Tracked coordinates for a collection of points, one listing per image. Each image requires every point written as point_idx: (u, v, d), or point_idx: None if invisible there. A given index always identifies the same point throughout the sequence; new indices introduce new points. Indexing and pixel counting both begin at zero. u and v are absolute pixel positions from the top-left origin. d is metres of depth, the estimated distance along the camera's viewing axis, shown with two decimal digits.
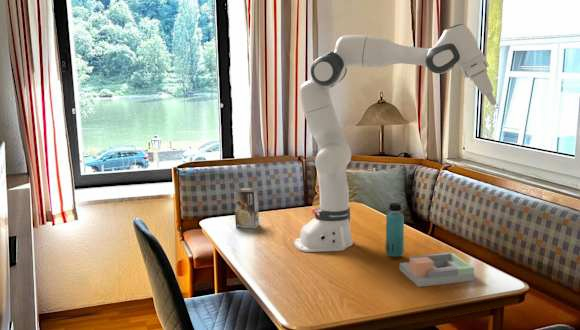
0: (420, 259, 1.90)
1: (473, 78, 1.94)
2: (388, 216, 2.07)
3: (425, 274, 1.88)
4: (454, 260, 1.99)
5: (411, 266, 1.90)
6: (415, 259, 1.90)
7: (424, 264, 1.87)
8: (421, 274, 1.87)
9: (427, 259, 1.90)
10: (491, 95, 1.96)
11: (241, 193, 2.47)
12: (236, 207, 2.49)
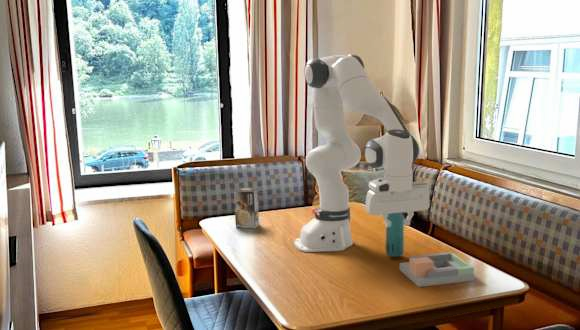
0: (420, 259, 1.90)
1: (368, 191, 1.83)
2: (388, 216, 2.07)
3: (425, 274, 1.88)
4: (454, 260, 1.99)
5: (411, 266, 1.90)
6: (415, 259, 1.90)
7: (424, 264, 1.87)
8: (421, 274, 1.87)
9: (427, 259, 1.90)
10: (383, 217, 1.83)
11: (241, 193, 2.47)
12: (236, 207, 2.49)
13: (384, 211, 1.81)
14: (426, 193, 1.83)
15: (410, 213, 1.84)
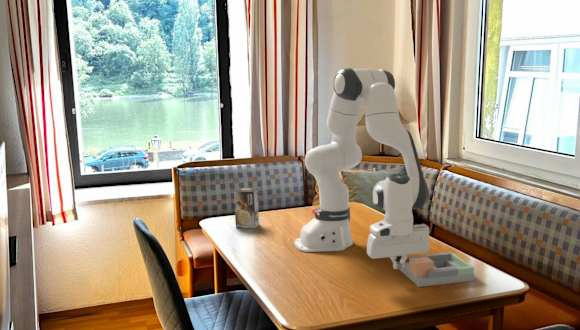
0: (420, 259, 1.90)
1: (369, 235, 1.85)
2: None
3: (425, 274, 1.88)
4: (454, 260, 1.99)
5: (411, 266, 1.90)
6: (415, 259, 1.90)
7: (424, 264, 1.87)
8: (421, 274, 1.87)
9: (427, 259, 1.90)
10: (392, 259, 1.86)
11: (241, 193, 2.47)
12: (236, 207, 2.49)
13: (385, 254, 1.84)
14: (426, 236, 1.86)
15: (404, 256, 1.86)
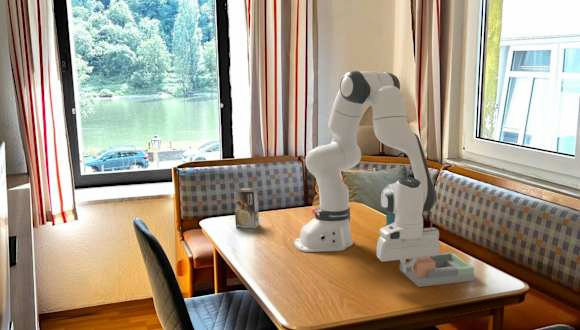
0: (421, 259, 1.90)
1: (379, 237, 1.87)
2: (388, 216, 2.07)
3: (426, 274, 1.88)
4: (454, 260, 1.99)
5: None
6: None
7: (426, 264, 1.87)
8: (422, 274, 1.87)
9: (428, 259, 1.90)
10: (401, 262, 1.87)
11: (241, 193, 2.47)
12: (236, 207, 2.49)
13: (395, 257, 1.85)
14: (436, 239, 1.87)
15: (413, 259, 1.87)
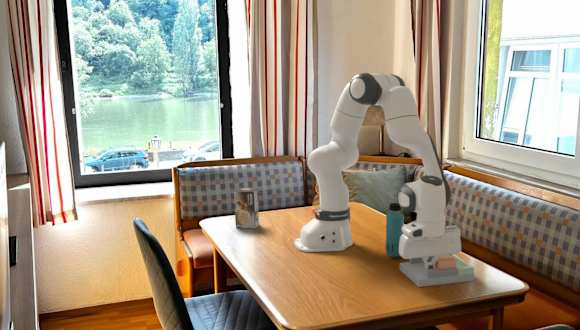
0: (442, 257, 1.91)
1: (401, 235, 1.88)
2: (388, 216, 2.07)
3: None
4: None
5: None
6: (438, 257, 1.91)
7: (447, 262, 1.88)
8: None
9: (450, 257, 1.91)
10: (423, 260, 1.89)
11: (241, 193, 2.47)
12: (236, 207, 2.49)
13: (417, 255, 1.86)
14: (458, 237, 1.88)
15: (435, 257, 1.89)
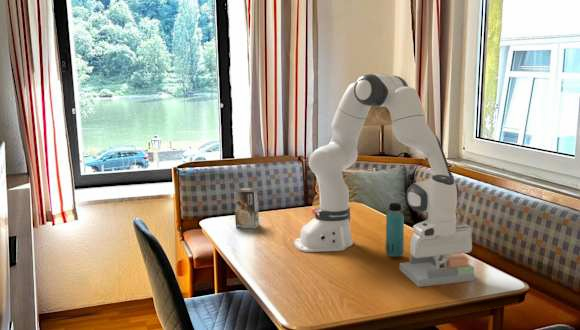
0: (453, 256, 1.92)
1: (413, 234, 1.89)
2: (388, 216, 2.07)
3: None
4: None
5: None
6: (449, 256, 1.92)
7: (458, 261, 1.89)
8: None
9: (460, 255, 1.92)
10: (435, 258, 1.89)
11: (241, 193, 2.47)
12: (236, 207, 2.49)
13: (429, 254, 1.87)
14: (469, 236, 1.89)
15: (446, 256, 1.90)
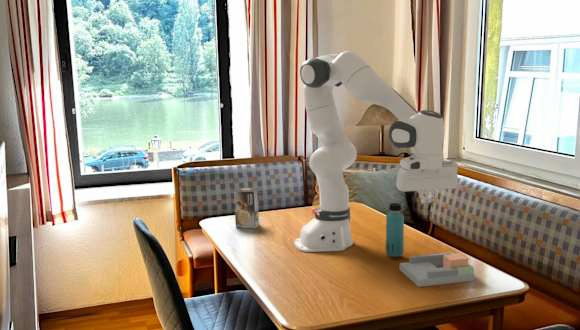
0: (453, 256, 1.92)
1: (399, 169, 1.91)
2: (388, 216, 2.07)
3: None
4: None
5: (444, 263, 1.93)
6: (449, 256, 1.92)
7: (458, 261, 1.89)
8: None
9: (460, 255, 1.92)
10: (420, 193, 1.92)
11: (241, 193, 2.47)
12: (236, 207, 2.49)
13: (414, 188, 1.89)
14: (455, 172, 1.91)
15: (432, 191, 1.92)
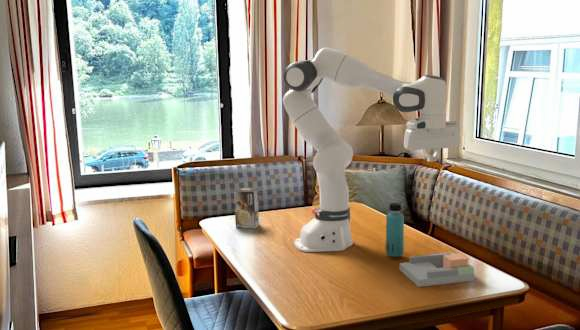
0: (453, 256, 1.92)
1: (406, 130, 2.07)
2: (388, 216, 2.07)
3: None
4: None
5: (444, 263, 1.93)
6: (449, 256, 1.92)
7: (458, 261, 1.89)
8: None
9: (460, 255, 1.92)
10: (426, 152, 2.07)
11: (241, 193, 2.47)
12: (236, 207, 2.49)
13: (421, 147, 2.05)
14: (457, 131, 2.07)
15: (437, 150, 2.07)
